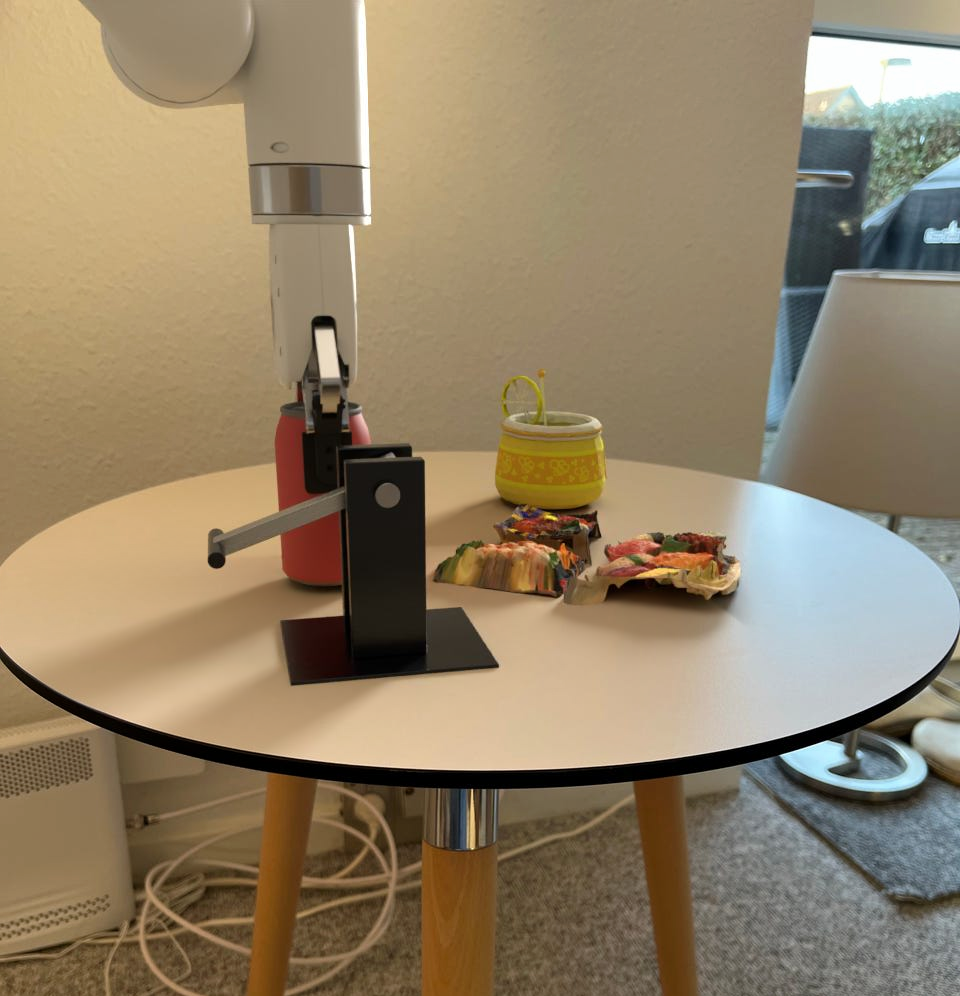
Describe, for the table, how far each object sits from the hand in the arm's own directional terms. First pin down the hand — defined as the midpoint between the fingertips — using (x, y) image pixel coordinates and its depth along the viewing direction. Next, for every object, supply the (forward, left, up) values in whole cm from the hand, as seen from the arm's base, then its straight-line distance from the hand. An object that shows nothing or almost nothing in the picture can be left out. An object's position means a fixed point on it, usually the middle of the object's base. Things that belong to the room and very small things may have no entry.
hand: (324, 477), depth 71 cm
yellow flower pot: (+24, +24, -9) cm, 35 cm away
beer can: (0, 0, -7) cm, 7 cm away
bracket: (+2, -13, -9) cm, 16 cm away
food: (+20, -1, -9) cm, 22 cm away
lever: (-2, -13, 0) cm, 13 cm away
